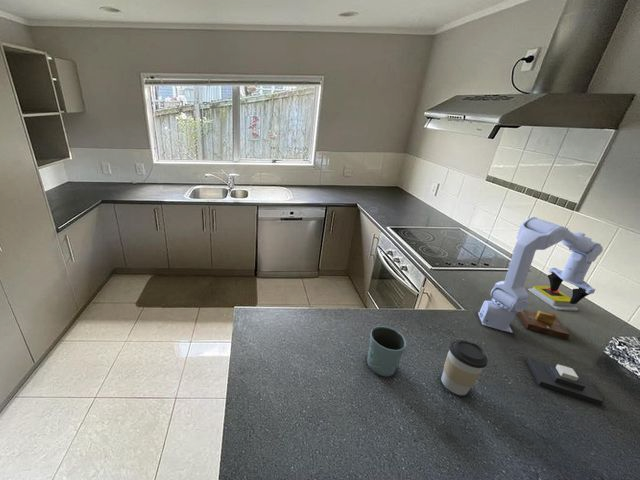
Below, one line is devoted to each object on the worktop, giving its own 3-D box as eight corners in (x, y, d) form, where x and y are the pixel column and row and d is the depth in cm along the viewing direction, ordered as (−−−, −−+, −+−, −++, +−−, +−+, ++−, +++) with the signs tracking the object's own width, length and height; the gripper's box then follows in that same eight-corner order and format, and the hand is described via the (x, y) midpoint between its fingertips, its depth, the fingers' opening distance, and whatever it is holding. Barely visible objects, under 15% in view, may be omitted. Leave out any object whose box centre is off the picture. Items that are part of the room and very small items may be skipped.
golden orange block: (536, 320, 110) (540, 312, 109) (534, 317, 112) (538, 310, 110) (552, 324, 108) (557, 316, 107) (550, 321, 110) (555, 314, 108)
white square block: (560, 376, 86) (563, 372, 85) (554, 367, 89) (557, 363, 88) (576, 381, 84) (578, 377, 84) (569, 372, 88) (572, 368, 87)
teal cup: (402, 367, 91) (411, 339, 86) (388, 385, 85) (397, 356, 80) (373, 347, 98) (380, 321, 93) (358, 363, 92) (364, 335, 87)
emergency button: (550, 282, 133) (584, 302, 119) (546, 289, 134) (579, 310, 120) (530, 281, 133) (562, 301, 119) (526, 289, 134) (557, 310, 120)
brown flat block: (526, 328, 109) (529, 323, 108) (517, 313, 118) (519, 308, 117) (567, 339, 105) (570, 334, 104) (554, 322, 113) (557, 317, 112)
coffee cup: (455, 402, 80) (473, 364, 75) (430, 375, 88) (444, 339, 83) (479, 394, 83) (498, 357, 77) (452, 369, 91) (467, 333, 85)
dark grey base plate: (538, 385, 86) (543, 377, 85) (526, 361, 95) (530, 353, 93) (600, 405, 81) (607, 397, 80) (581, 378, 89) (587, 370, 88)
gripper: (609, 278, 100) (593, 308, 105) (566, 257, 113) (554, 285, 119) (589, 280, 100) (575, 310, 105) (549, 259, 113) (538, 286, 119)
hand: (562, 297), depth 112 cm, fingers open, 7 cm apart
